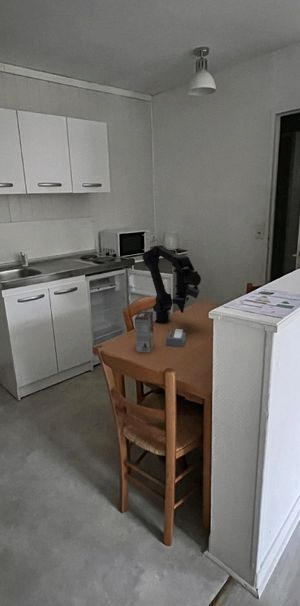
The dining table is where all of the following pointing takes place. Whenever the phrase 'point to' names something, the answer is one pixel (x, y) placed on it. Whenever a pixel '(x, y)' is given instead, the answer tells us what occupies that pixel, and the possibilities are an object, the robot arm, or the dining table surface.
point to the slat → (178, 333)
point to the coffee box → (144, 331)
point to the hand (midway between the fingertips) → (182, 312)
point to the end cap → (175, 340)
